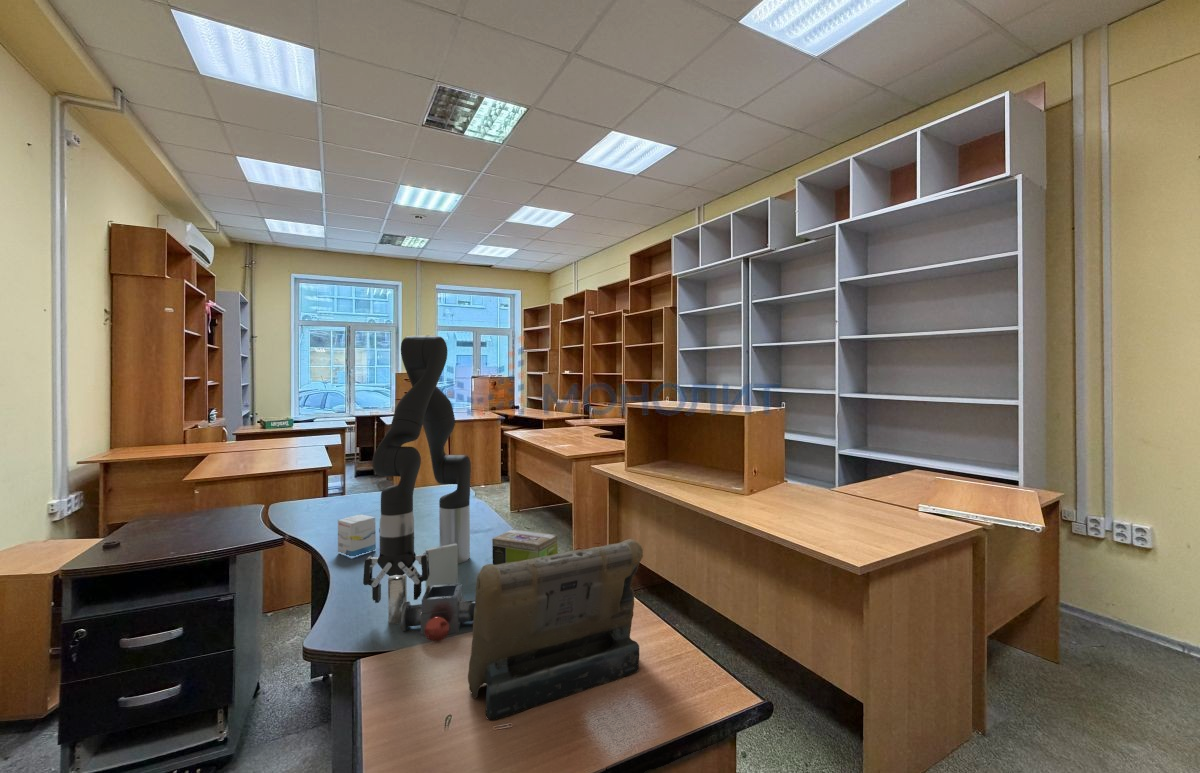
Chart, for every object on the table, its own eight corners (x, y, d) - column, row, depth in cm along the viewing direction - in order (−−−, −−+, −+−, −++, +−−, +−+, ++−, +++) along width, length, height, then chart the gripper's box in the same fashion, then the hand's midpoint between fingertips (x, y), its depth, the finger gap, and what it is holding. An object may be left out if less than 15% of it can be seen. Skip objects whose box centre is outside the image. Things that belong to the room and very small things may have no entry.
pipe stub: (390, 616, 113) (390, 574, 113) (408, 615, 114) (408, 573, 114) (386, 624, 109) (386, 581, 109) (404, 623, 110) (404, 580, 110)
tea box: (559, 588, 129) (558, 533, 129) (539, 603, 120) (539, 545, 120) (513, 579, 135) (513, 527, 135) (491, 593, 126) (491, 537, 126)
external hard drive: (458, 590, 127) (458, 544, 127) (426, 598, 123) (426, 550, 123) (456, 588, 129) (456, 543, 129) (425, 596, 124) (424, 548, 124)
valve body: (408, 620, 111) (408, 586, 111) (481, 614, 114) (481, 581, 114) (395, 647, 100) (395, 609, 100) (477, 640, 102) (476, 603, 102)
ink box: (376, 551, 158) (376, 517, 158) (351, 559, 151) (351, 523, 151) (361, 547, 163) (361, 513, 163) (337, 554, 156) (336, 519, 156)
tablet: (611, 637, 103) (610, 523, 103) (651, 668, 92) (650, 540, 92) (462, 689, 86) (462, 552, 86) (489, 737, 74) (488, 578, 74)
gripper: (431, 525, 116) (431, 591, 116) (369, 528, 114) (369, 595, 114) (425, 534, 109) (425, 604, 109) (359, 537, 107) (359, 609, 106)
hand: (397, 600), depth 111 cm, fingers open, 8 cm apart
